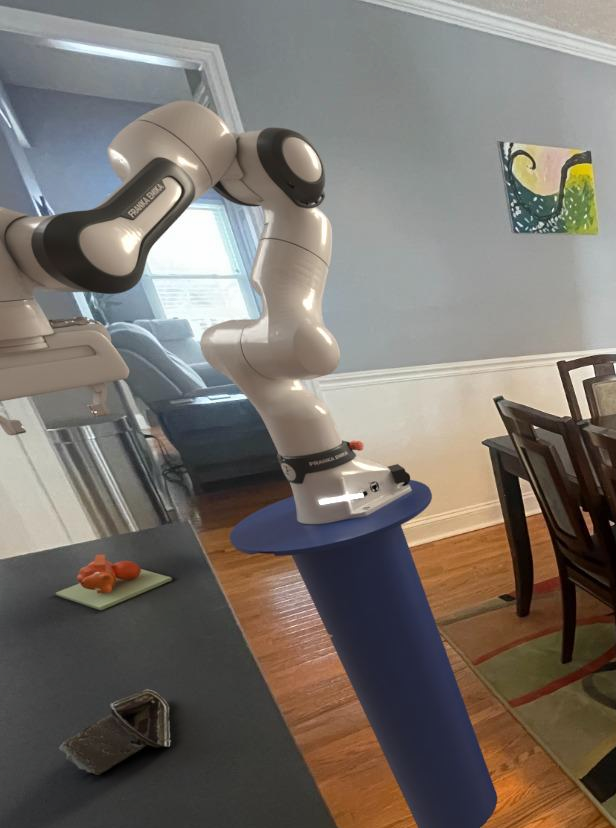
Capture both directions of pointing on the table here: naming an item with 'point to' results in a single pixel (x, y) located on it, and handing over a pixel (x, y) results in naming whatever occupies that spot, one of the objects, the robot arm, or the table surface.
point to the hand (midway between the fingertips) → (61, 424)
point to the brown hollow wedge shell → (121, 733)
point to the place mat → (114, 590)
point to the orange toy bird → (106, 574)
